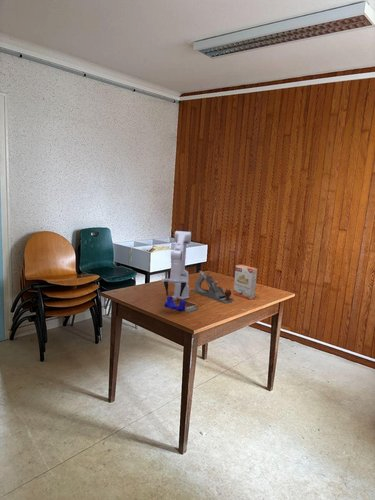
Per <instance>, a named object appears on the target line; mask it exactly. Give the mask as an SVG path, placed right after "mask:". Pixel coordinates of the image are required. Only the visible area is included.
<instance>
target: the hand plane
mask: <svg viewBox="0 0 375 500" xmlns="http://www.w3.org/2000/svg"><path fill="white" fill-rule="evenodd" d="M204 281H205V282H206V285H207V286H208V288H209V289H205V288H202V284H203V282H204ZM218 283H219V281H218V280H214V278H213V277H212V276H211V274H210V273H205V272H203V271H202V270H199V276H198V277H197V279H196V281H195V285H194V289H191V290H190V292H192V293H195V294H198V295H200V296H203V297H205V298H209V299H211V300H214V301H217V302H220V303H222V304H232V303H233V302H235V299H234V298H232V297H231V296H232V291H231V289H229V288H227V289H225V291H224V289H223V287H221V286H218V285H217V284H218Z"/></svg>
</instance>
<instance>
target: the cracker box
mask: <svg viewBox="0 0 375 500" xmlns="http://www.w3.org/2000/svg"><path fill="white" fill-rule="evenodd" d="M257 276H258V268H256V267H252V266H248V265H245V264H236V265H235V272H234V282H233V284H234V285H233V295H234V296H238V297H241V298H243V299H246V300H253V299H255V297H256V288H257V278H258V277H257Z"/></svg>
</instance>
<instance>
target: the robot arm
mask: <svg viewBox="0 0 375 500" xmlns="http://www.w3.org/2000/svg"><path fill="white" fill-rule="evenodd" d="M191 239H192V231H182V230H176V231H175V232H174V241H175V244H174V245H173V250H171V251H170V252H171V253H170V263H171V264H170V272H169V273H170V276H169V278H162V279H161V282H162V283H163V285H164V289H165V296H166V297H169V283H172V284H174V291H173V295H171V296H172V299H175V298H176V297H178V298H181V299H184V300H186V299H189V298H190V285H189V279H190V278H189V277H190V275H189V271H187V270H186V257H187V256H186V255H187V246H188V245H190V244H191V242H192V241H191Z"/></svg>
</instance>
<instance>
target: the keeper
mask: <svg viewBox="0 0 375 500" xmlns="http://www.w3.org/2000/svg"><path fill="white" fill-rule="evenodd" d="M172 299H173V302H174V304H177V303H178V305H179V304H180V301H183V300H184V301H185V311H184V312H185V313H190V312H193V311H197V310H198V309H199V304H197V303H195V302H192V301H189V300H187V299H181V298H178V297H176V298H172ZM165 302H167V300H166V301H165Z"/></svg>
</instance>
